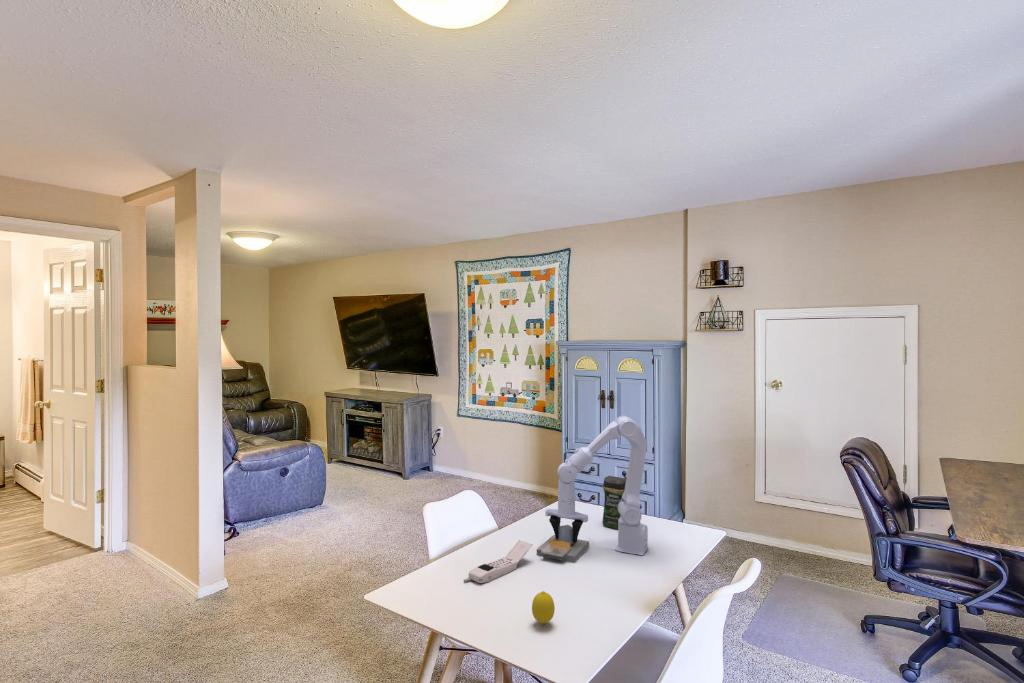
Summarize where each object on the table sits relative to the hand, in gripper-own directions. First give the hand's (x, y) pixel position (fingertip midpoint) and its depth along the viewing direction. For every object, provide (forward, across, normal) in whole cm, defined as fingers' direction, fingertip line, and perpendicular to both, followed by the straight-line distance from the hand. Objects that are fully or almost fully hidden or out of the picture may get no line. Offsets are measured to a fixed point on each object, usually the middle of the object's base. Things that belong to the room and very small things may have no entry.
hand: (566, 540), depth 178 cm
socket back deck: (+3, 0, +6) cm, 7 cm away
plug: (+2, 0, 0) cm, 2 cm away
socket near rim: (+3, -5, 0) cm, 6 cm away
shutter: (0, 0, +9) cm, 9 cm away
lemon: (+3, -12, +48) cm, 50 cm away
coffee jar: (+3, -9, -29) cm, 31 cm away
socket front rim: (+3, 0, -4) cm, 5 cm away
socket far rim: (+3, +5, 0) cm, 5 cm away
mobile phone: (+3, +12, +26) cm, 29 cm away
